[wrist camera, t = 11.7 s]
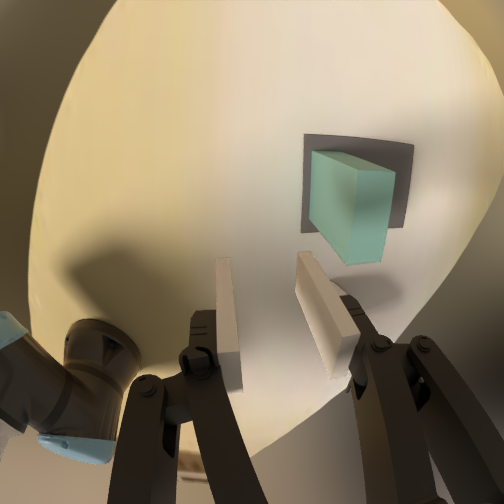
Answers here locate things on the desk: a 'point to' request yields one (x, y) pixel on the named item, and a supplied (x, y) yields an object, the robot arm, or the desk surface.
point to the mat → (370, 150)
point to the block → (351, 204)
